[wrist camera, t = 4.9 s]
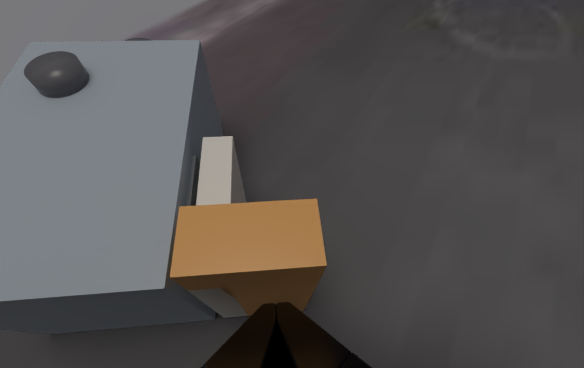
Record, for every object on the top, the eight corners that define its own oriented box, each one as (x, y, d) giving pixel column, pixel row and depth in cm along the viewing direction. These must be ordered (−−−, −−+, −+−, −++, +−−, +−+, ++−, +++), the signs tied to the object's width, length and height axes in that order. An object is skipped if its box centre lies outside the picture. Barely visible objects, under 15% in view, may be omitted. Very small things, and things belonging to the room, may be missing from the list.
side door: (303, 310, 14) (326, 265, 7) (223, 317, 14) (169, 277, 7) (293, 205, 18) (302, 104, 11) (227, 209, 17) (192, 107, 10)
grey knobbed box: (218, 319, 14) (159, 281, 7) (47, 334, 14) (-196, 308, 7) (227, 114, 22) (202, -2, 15) (117, 118, 21) (37, -2, 14)
